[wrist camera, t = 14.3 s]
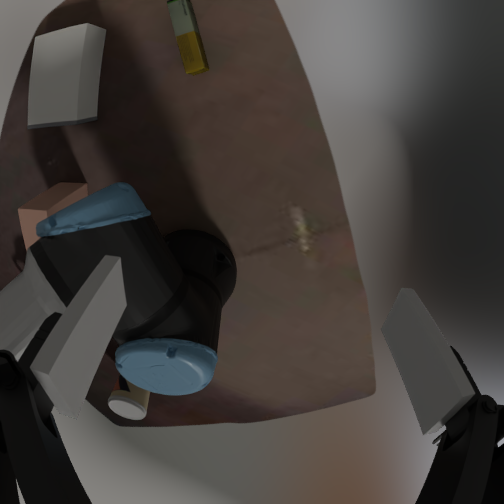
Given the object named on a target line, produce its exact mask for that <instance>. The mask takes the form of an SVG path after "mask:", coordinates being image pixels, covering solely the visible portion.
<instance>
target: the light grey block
mask: <svg viewBox="0 0 504 504" xmlns="http://www.w3.org/2000/svg"><path fill="white" fill-rule="evenodd" d="M105 36H106V29H103V28H101V27H98V26H95V25H92V24H89V23H85V24H80V25H76V26H72V27H68V28H64V29H60V30H57V31H53V32H50V33H46V34H43V35H40V36H37V37H35V42H34V49H33V56H32V63H31V72H30V83H29V99H28V126H27V129H34V128H43V127H53V126H64V125H77V124H81V123H86V122H90V121H94V120H97V107H98V93H99V81H100V72H101V63H102V55H103V48H104V42H105Z"/></svg>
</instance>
